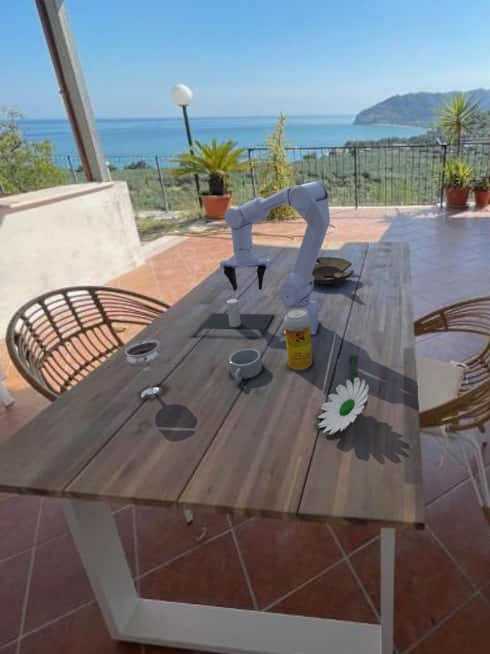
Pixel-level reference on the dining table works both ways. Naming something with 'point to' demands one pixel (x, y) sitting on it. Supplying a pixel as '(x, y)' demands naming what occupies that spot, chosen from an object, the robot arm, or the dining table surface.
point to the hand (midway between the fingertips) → (248, 288)
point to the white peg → (233, 312)
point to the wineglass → (144, 359)
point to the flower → (344, 404)
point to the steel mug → (245, 364)
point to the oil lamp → (331, 270)
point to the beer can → (298, 338)
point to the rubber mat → (246, 320)
